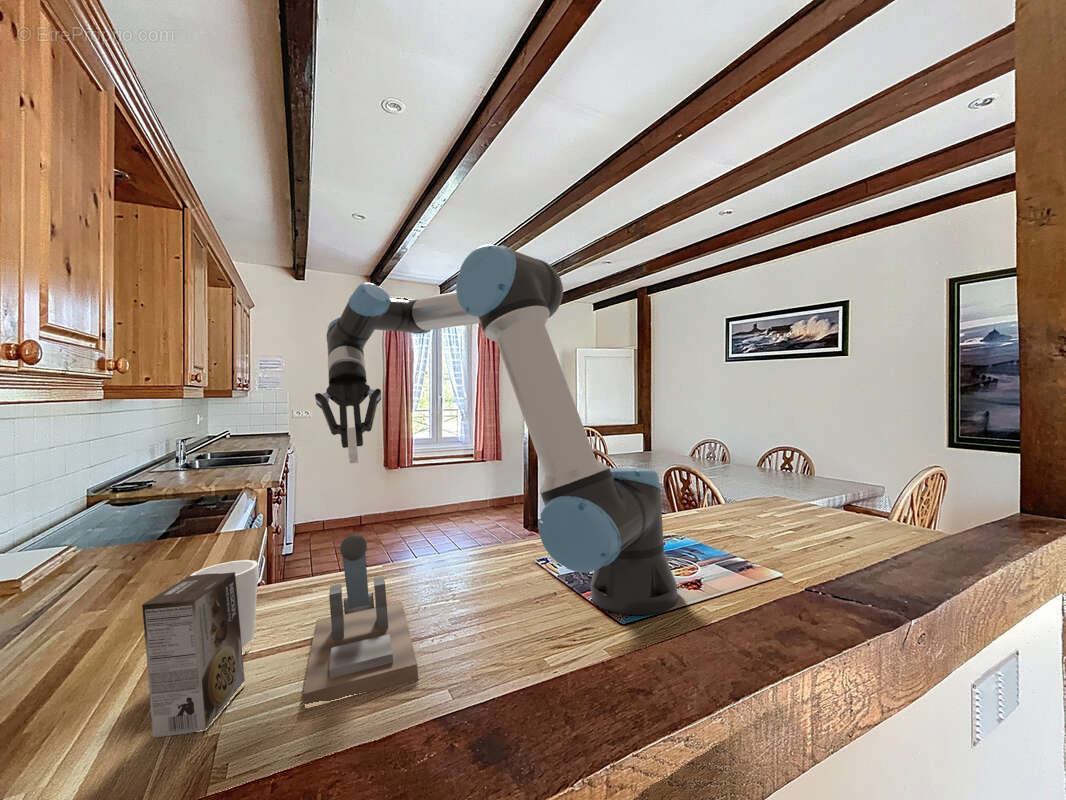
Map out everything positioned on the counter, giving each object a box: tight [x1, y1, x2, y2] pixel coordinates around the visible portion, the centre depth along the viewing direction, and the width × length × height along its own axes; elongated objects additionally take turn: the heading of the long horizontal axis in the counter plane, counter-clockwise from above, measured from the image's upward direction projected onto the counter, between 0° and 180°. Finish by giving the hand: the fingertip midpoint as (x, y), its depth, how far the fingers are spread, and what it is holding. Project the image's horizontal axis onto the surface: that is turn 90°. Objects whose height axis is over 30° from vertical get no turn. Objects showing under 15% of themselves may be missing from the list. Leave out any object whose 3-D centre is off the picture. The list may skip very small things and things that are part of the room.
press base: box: [302, 575, 419, 705], centre depth 72 cm, size 22×14×9 cm, turn 21°
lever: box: [339, 533, 375, 614], centre depth 71 cm, size 4×4×18 cm
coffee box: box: [141, 572, 246, 738], centre depth 60 cm, size 9×6×16 cm
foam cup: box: [189, 559, 260, 647], centre depth 75 cm, size 10×9×13 cm
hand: (353, 458), depth 87 cm, fingers closed
